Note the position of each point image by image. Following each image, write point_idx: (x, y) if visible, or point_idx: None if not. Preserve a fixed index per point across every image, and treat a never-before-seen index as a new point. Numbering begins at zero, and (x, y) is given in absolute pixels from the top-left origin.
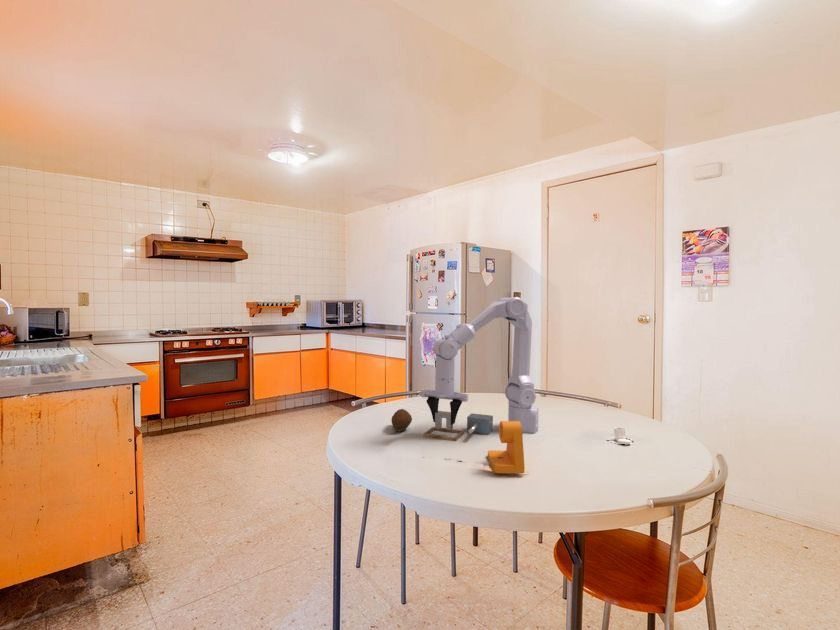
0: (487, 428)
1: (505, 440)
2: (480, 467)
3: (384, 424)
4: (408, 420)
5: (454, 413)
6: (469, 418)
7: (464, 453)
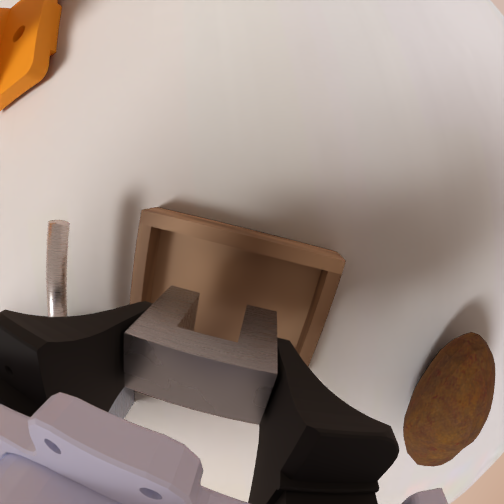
0: None
1: None
2: (82, 15)
3: None
4: (429, 394)
5: (84, 315)
6: None
7: (116, 110)
